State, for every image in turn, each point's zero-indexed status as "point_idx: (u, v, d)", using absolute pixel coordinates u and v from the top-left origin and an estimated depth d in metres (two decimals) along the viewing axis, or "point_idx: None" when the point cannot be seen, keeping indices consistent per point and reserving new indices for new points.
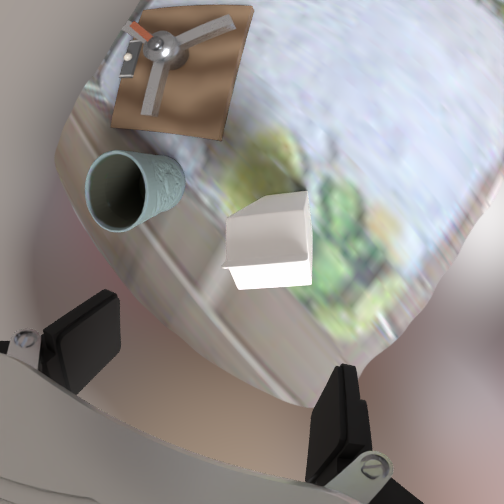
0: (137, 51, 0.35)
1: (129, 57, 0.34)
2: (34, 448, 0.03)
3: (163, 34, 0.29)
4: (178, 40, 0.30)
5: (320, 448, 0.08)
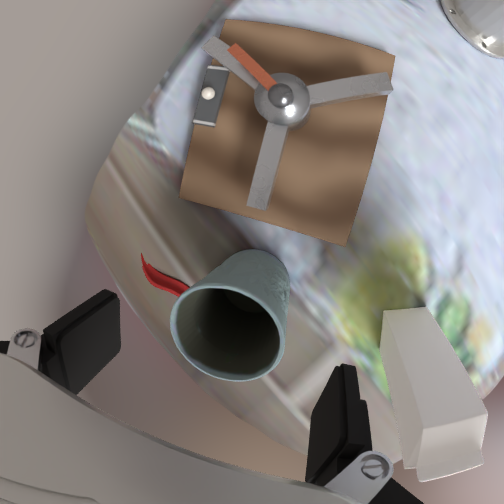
0: (222, 86, 0.27)
1: (211, 95, 0.26)
2: (34, 448, 0.03)
3: (291, 81, 0.21)
4: (310, 94, 0.22)
5: (321, 448, 0.08)
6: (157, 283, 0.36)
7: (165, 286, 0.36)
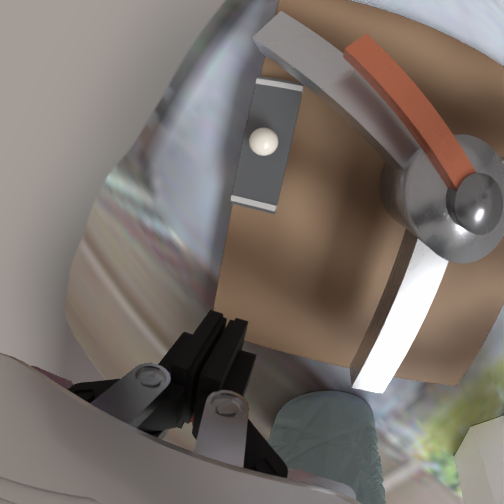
0: (291, 125, 0.14)
1: (273, 148, 0.13)
2: (34, 448, 0.03)
3: (487, 161, 0.07)
4: None
5: None
6: None
7: None
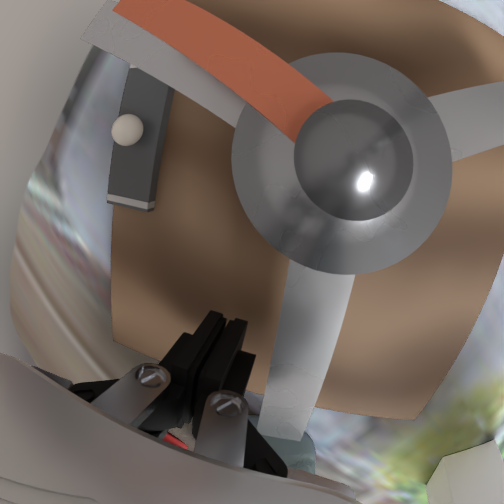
0: (161, 107, 0.11)
1: (133, 135, 0.10)
2: (34, 448, 0.03)
3: (378, 87, 0.05)
4: None
5: None
6: None
7: None
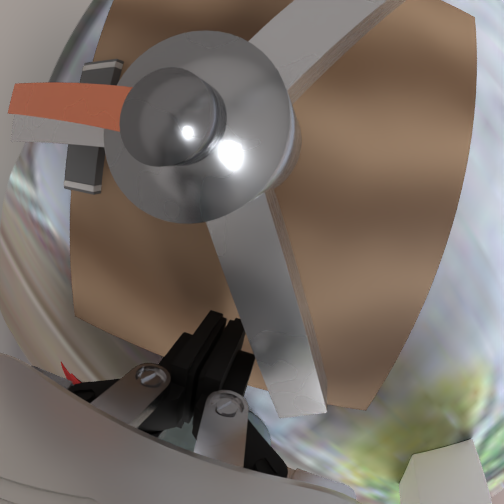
0: None
1: None
2: (34, 448, 0.03)
3: (182, 54, 0.05)
4: None
5: None
6: None
7: None
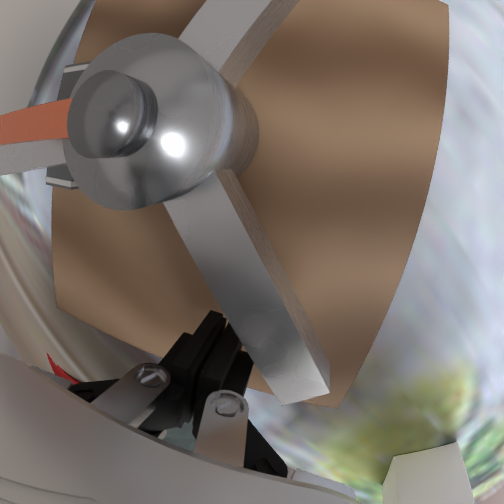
0: None
1: None
2: (34, 448, 0.03)
3: (115, 61, 0.06)
4: (197, 51, 0.07)
5: None
6: None
7: None
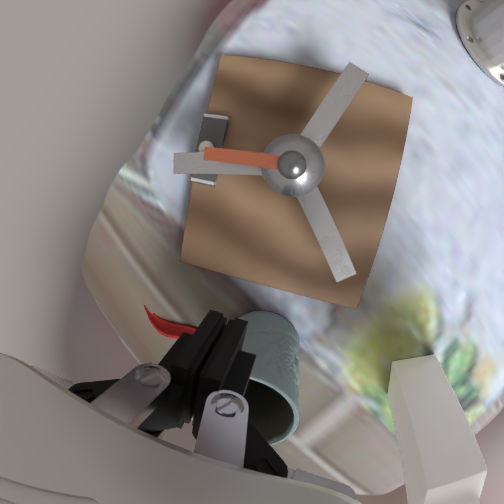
0: (221, 138, 0.26)
1: None
2: (34, 448, 0.03)
3: (287, 142, 0.20)
4: (310, 139, 0.21)
5: None
6: (167, 333, 0.34)
7: (176, 334, 0.34)
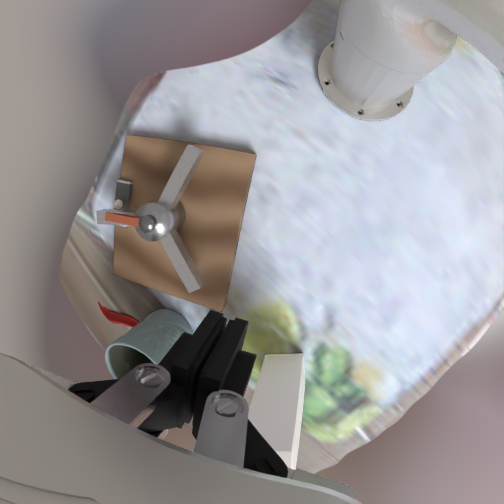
0: (127, 197, 0.39)
1: (120, 206, 0.38)
2: (34, 448, 0.03)
3: (146, 209, 0.33)
4: (164, 203, 0.34)
5: None
6: (111, 320, 0.47)
7: (117, 320, 0.47)
